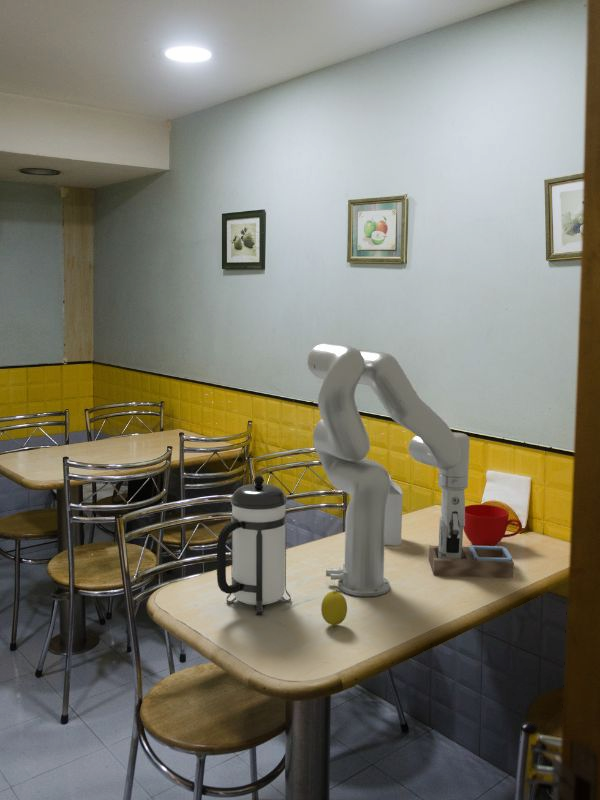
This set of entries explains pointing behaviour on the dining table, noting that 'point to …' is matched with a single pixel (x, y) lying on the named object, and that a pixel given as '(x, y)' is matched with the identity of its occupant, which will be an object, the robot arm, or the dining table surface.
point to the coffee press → (255, 545)
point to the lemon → (334, 608)
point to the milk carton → (393, 515)
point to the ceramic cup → (487, 524)
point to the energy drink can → (443, 538)
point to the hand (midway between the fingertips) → (450, 546)
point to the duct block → (474, 562)
